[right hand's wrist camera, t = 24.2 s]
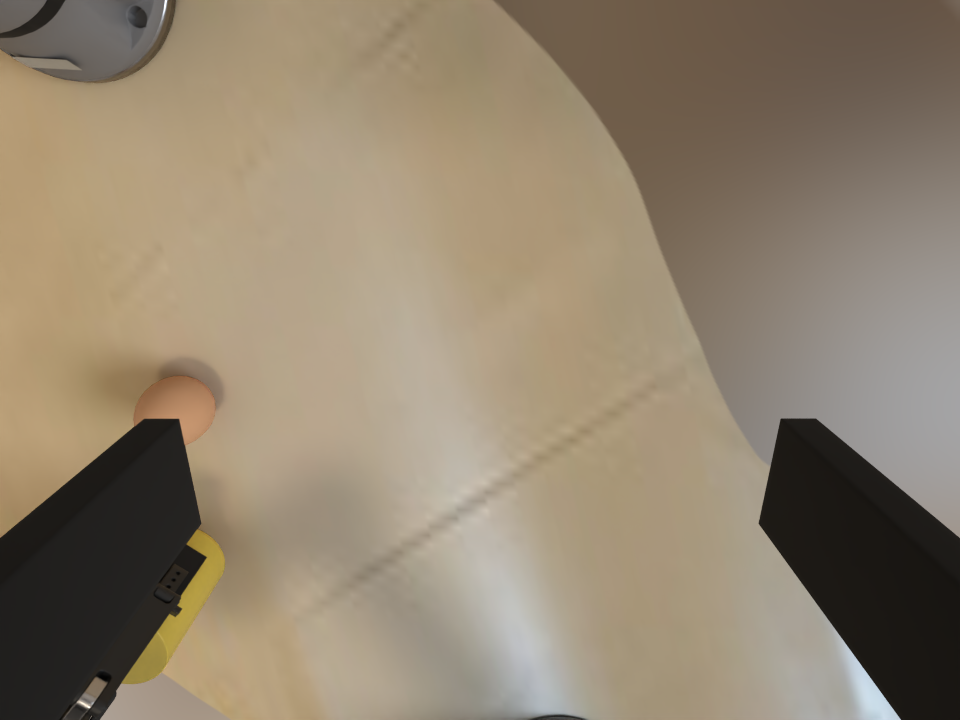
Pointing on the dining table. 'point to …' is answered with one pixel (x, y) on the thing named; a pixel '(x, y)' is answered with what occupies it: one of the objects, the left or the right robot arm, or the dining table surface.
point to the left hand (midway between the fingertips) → (169, 580)
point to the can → (191, 605)
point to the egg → (178, 405)
